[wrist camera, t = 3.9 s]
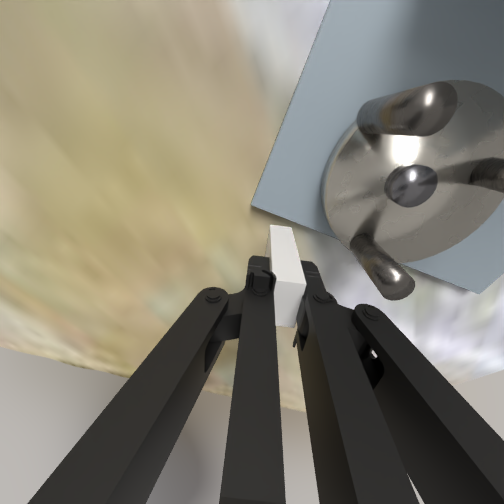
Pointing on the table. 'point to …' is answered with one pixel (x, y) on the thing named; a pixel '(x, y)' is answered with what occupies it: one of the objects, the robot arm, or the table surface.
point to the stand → (377, 85)
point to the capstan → (415, 176)
